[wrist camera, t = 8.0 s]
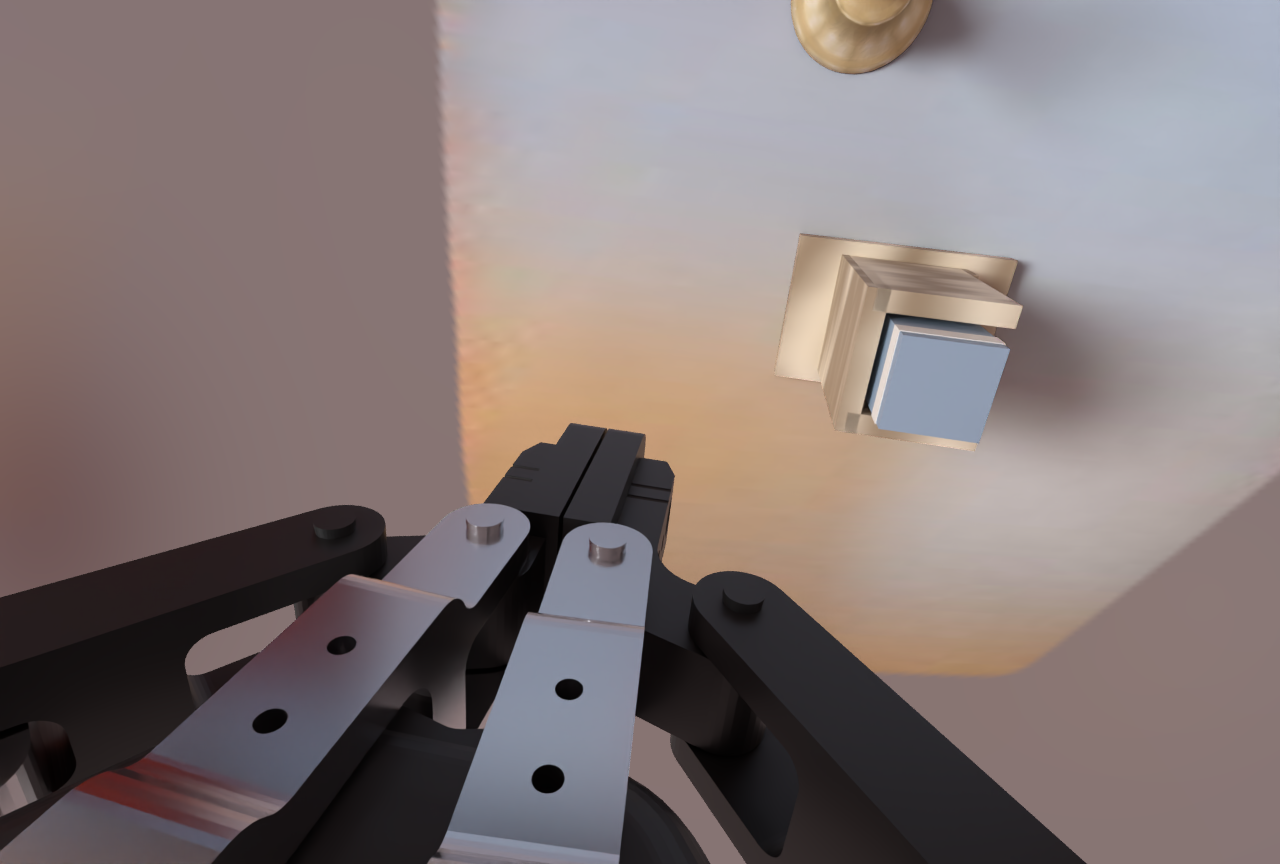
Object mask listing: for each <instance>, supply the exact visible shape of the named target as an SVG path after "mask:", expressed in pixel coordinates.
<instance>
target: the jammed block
mask: <svg viewBox="0 0 1280 864" xmlns="http://www.w3.org/2000/svg"><path fill="white" fill-rule="evenodd" d="M1009 352H1010V349H1009V348H1008V347H1007V346H1006V343H1004V342H1003V341H1002V340H1000V339H999V338H998V337H994V336H993V335H992V334H990V333H989V332H988V331H987V330H985V329H984V328H983V327H982V326H980V325H979V324H972V323H964V322H956V321H948V320H941V319H933V318H925V317H917V316H909V315H902V314H894V313H886V315H885V319H884V323H883V327H882V331H881V335H880V339H879V343H878V347H877V351H876V355H875V359H874V363H873V367H872V371H871V375H870V379H869V383H868V387H867V391H866V395H865V399H866V401H867V404H868V406H869V408H870V410H871V413H872V414H871V416H872V418H873V421H874V423H875V424H877V426H878V429H883V430H890V431H897V432H904V433H911V434H917V435H924V436H931V437H938V438H945V439H952V440H958V441H965V442H972V443H979V441H980V438H981V435H982V432H983V429H984V426H985V423H986V420H987V417H988V414H989V411H990V408H991V405H992V402H993V399H994V397H995V394H996V391H997V388H998V385H999V382H1000V379H1001V376H1002V373H1003V370H1004V367H1005V364H1006V361H1007V358H1008V355H1009Z"/></svg>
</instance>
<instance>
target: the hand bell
mask: <svg viewBox="0 0 1280 864" xmlns="http://www.w3.org/2000/svg"><path fill="white" fill-rule="evenodd" d="M932 2H933V0H791V14H792V20H793V25H794V28H795V32H796V35H797V37H798V39H799V41H800V43H801V44H802V46H803V48H804V49H805V50H806V52H807V53H808V54H809V56H810V57H812V58H813V59H814V60H815V61H816V62H818V63H819V64H820V65H822V66H824V67H826V68H828V69H830V70H833V71H836V72H840V73H849V74H857V73H864V72H869V71H873V70H876V69H878V68H880V67H882V66H884V65H886V64H888V63H890V62H891V61H892V60H894V59H895V58H897V57H898V56H899V55H900V54H902V53H903V52H904V51H905V50H906V49H907V48H908V47H909V46H910V45H911V43H912V42H913V41H914V40H915V38H916V37H917V36H918V34H919V33H920V31H921V29H922V28H923V26H924V24H925V22H926V19H927V17H928V15H929V12H930V9H931V5H932Z"/></svg>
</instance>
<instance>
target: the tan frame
mask: <svg viewBox="0 0 1280 864" xmlns="http://www.w3.org/2000/svg"><path fill="white" fill-rule="evenodd" d="M1017 263H1018V261H1017V260H1014V259H1012V258H1005V257H997V256H988V255H980V254H971V253H963V252H954V251H946V250H937V249H929V248H920V247H912V246H903V245H895V244H886V243H878V242H869V241H861V240H852V239H844V238H835V237H827V236H818V235H810V234H801V233H800V236H799V242H798V247H797V252H796V258H795V263H794V269H793V274H792V279H791V285H790V290H789V295H788V301H787V306H786V311H785V317H784V322H783V327H782V333H781V338H780V343H779V349H778V354H777V359H776V365H775V370H774V372H775V376H781V377H788V378H795V379H802V380H809V381H817V382H821V385H822V388H823V392H824V395H825V399H826V402H827V406H828V409H829V413H830V417H831V420H832V424H833V427H834V431H841V432H847V433H854V434H861V435H868V436H875V437H881V438H888V439H895V440H902V441H908V442H915V443H922V444H929V445H936V446H942V447H949V448H956V449H963V450H970V451H975V449H976V446H977V443H972V442H965V441H958V440H952V439H945V438H938V437H931V436H924V435H917V434H911V433H904V432H897V431H890V430H883V429H878V426H877V424H875V423H874V421H873V418H872V416H871V414H872V413H871V410H870V408H869V406H868V404H867V401H866V399H865V395H866V391H867V387H868V383H869V379H870V375H871V371H872V367H873V363H874V359H875V355H876V351H877V347H878V343H879V339H880V335H881V331H882V327H883V323H884V319H885V315H886V313H894V314H902V315H909V316H917V317H925V318H933V319H941V320H948V321H956V322H964V323H972V324H979V325H980V326H982V327H983V328H984V329H985V330H987V331H988V332H989V333H990V334H992V335H993V336H994V334H995V331H996V328H997V327H1003V328H1011V329H1016V326H1017V323H1018V320H1019V317H1020V314H1021V311H1022V308H1023V306H1022V305H1020V304H1019V303H1017V302H1015V301H1014V300H1012V299H1010V298H1009V297H1007V294H1008V291H1009V288H1010V285H1011V281H1012V278H1013V275H1014V272H1015V269H1016V266H1017Z"/></svg>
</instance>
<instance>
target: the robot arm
mask: <svg viewBox="0 0 1280 864" xmlns="http://www.w3.org/2000/svg"><path fill="white" fill-rule="evenodd" d="M645 440H646V437H645V434H641V433H634V432H628V431H621V430H614V429H608V431H607V428H600V427H594V426H587V425H581V424H574V423H570V424H569V426H568V427H567V429H566V430H565V432H564V433H563V435H562V436H561V438H560V439H559V441H558V442H557V444H556V445H555V444H548V443H542V442H541V443H539V444H537V445H535V446H533V447H531V448H529V449H527V450H525V451H523V452H522V453H521V454H520V456H519V457H518V458H517V460H516V461H515V462H514V464H513V467H511V468H510V469H509V470H508V472H507V473H506V474H505V477H503V478H502V480H501V481H500V482H499V483H498V485H497V486H496V487H495V489H494V490H493V491H492V493H491V494H490V495H489V497H488V498H487V499H486V501H485V502H484V503H483V504H474V505H469V506H465V507H462V508H459V509H457V510H454V511H452V512H451V513H449V514H448V515H446V516H445V517H444V518H443V519H442V520H441V521H440V522H439V523H438V524H437V525H436V526H435V527H434V528H433V529H432V530H431V531H430V532H429V533H428V534H427V535H425V536H395V537H386V525H385V521H384V518H383V517H382V515H380V514H379V513H378V512H376V511H374V510H372V509H369V508H366V507H362V506H354V505H339V506H331V507H325V508H321V509H317V510H313V511H309V512H306V513H302V514H299V515H295V516H292V517H288V518H284V519H281V520H277V521H274V522H270V523H267V524H263V525H259V526H256V527H252V528H248V529H245V530H242V531H238V532H234V533H230V534H227V535H224V536H220V537H216V538H213V539H209V540H205V541H202V542H198V543H195V544H191V545H188V546H184V547H180V548H177V549H173V550H169V551H166V552H162V553H159V554H155V555H151V556H148V557H144V558H141V559H137V560H134V561H130V562H126V563H123V564H119V565H116V566H112V567H108V568H105V569H101V570H98V571H94V572H91V573H87V574H83V575H80V576H76V577H73V578H69V579H66V580H62V581H58V582H55V583H51V584H47V585H44V586H40V587H37V588H33V589H30V590H26V591H22V592H19V593H16V594H12V595H8V596H4V597H1V598H0V864H710V863H709V861H708V859H707V857H706V855H705V854H704V852H703V850H702V849H701V847H700V845H699V844H698V842H697V841H696V839H695V838H694V836H693V835H692V834H691V832H690V831H689V830H688V828H687V827H686V826H685V824H684V823H683V822H682V821H681V819H680V818H679V817H678V816H677V815H676V814H675V813H674V812H673V811H672V810H671V809H670V808H669V807H668V806H667V804H666V803H664V801H663V800H661V799H660V798H659V797H658V796H656V795H655V794H654V793H653V792H651V791H650V790H649V789H648V788H646V787H645V786H643V785H642V784H640V783H638V782H637V781H635V780H633V779H632V778H630V777H629V776H628V775H629V765H630V757H631V748H632V738H633V729H634V720H635V716H637V717H639V718H641V719H643V720H645V721H647V722H649V723H651V724H653V725H655V726H657V727H659V728H661V729H662V730H664V731H666V732H668V733H670V734H671V737H670V743H671V749H672V752H673V754H674V756H675V758H676V760H677V761H678V763H679V764H680V766H681V767H682V769H683V770H684V772H685V773H686V775H687V776H688V778H689V779H690V781H691V782H692V784H693V785H694V786H695V788H696V789H697V791H698V792H699V794H700V795H701V797H702V798H703V800H704V801H705V803H706V804H707V806H708V807H709V809H710V810H711V812H712V813H713V814H714V816H715V818H716V819H717V820H718V822H719V823H720V825H721V827H722V828H723V829H724V831H725V832H726V834H727V835H728V837H729V838H730V840H731V841H732V843H733V844H734V846H735V847H736V849H737V850H738V852H739V853H740V855H741V856H742V857H743V859H744V861H745V862H746V863H747V864H1086V863H1085V862H1084V861H1083V860H1082V859H1081V858H1080V857H1079V856H1077V855H1076V854H1075V853H1074V852H1073V851H1072V850H1071V849H1069V848H1068V847H1067V846H1066V845H1065V844H1064V843H1063V842H1062V841H1061V840H1060V839H1058V838H1057V837H1056V836H1055V835H1054V834H1053V833H1052V832H1051V831H1049V830H1048V829H1047V828H1046V827H1045V826H1044V825H1043V824H1042V823H1041V822H1040V821H1038V820H1037V819H1036V818H1035V817H1034V816H1033V815H1032V814H1030V813H1029V812H1028V811H1027V810H1026V809H1025V808H1024V807H1023V806H1022V805H1021V804H1019V803H1018V802H1017V801H1016V800H1015V799H1014V798H1013V797H1011V795H1009V794H1008V793H1007V792H1006V791H1005V790H1004V789H1003V788H1002V787H1000V786H999V785H998V784H997V783H996V782H995V781H994V780H993V779H992V778H990V777H989V776H988V775H987V774H986V773H985V772H984V771H983V770H981V769H980V768H979V767H978V766H977V765H976V764H975V763H973V761H971V760H970V759H969V758H968V757H967V756H966V755H965V754H964V753H962V752H961V751H960V750H959V749H958V748H957V747H956V746H955V745H953V744H952V743H951V742H950V741H949V740H948V739H947V738H946V737H945V736H944V735H942V734H941V733H940V732H939V731H938V730H937V729H936V728H935V727H934V726H932V725H931V724H930V723H929V722H928V721H927V720H926V719H925V718H923V717H922V716H921V715H920V714H919V713H918V712H917V711H916V710H915V709H913V708H912V707H911V706H910V705H909V704H908V703H907V702H905V701H904V700H903V699H902V698H901V697H900V696H899V695H898V694H897V693H896V692H894V691H893V690H892V689H891V688H890V687H889V686H888V685H887V684H885V683H884V682H883V681H882V680H881V679H880V678H879V677H878V676H877V675H875V674H874V673H873V672H872V671H871V670H870V669H869V668H868V667H867V666H865V665H864V664H863V663H862V662H861V661H860V660H859V659H858V658H856V657H855V656H854V655H853V654H852V653H851V652H850V651H849V650H848V649H846V648H845V647H844V646H843V645H842V644H841V643H840V642H839V641H838V640H836V639H835V638H834V637H833V636H832V635H831V634H830V633H829V632H827V631H826V630H825V629H824V628H823V627H822V626H821V625H820V624H819V623H817V622H816V621H815V620H814V619H813V618H812V617H811V616H810V615H809V614H807V613H806V612H805V611H804V610H803V609H802V608H801V607H800V606H798V605H797V604H796V603H795V602H794V601H793V600H792V599H791V598H790V597H788V596H787V595H786V594H785V593H784V592H783V591H782V590H781V589H779V588H778V587H777V586H776V585H774V584H772V583H771V582H769V581H767V580H765V579H763V578H761V577H758V576H755V575H752V574H748V573H744V572H737V571H724V572H717V573H713V574H710V575H707V576H706V577H704V578H702V579H701V580H700V581H699V582H698V583H697V584H696V585H694V584H692V583H689V582H687V581H685V580H683V579H681V578H679V577H677V576H676V575H674V574H673V573H672V572H670V571H669V570H668V569H667V568H666V567H665V566H664V565H663V563H662V557H663V553H664V549H665V544H666V538H667V531H668V523H669V515H670V508H671V500H672V493H673V485H674V477H675V475H674V473H673V472H672V470H671V468H670V466H669V464H668V463H667V462H665V461H659V460H652V459H646V458H644V452H645ZM292 604H294V608H295V615H296V620H295V621H294V622H293V623H292V624H290V625H289V626H288V627H287V628H286V629H285V630H284V631H283V632H282V633H280V634H279V635H278V636H277V637H276V638H275V639H274V640H273V641H272V642H271V643H269V644H268V645H267V646H266V647H265V648H264V649H263V650H262V651H261V652H259V653H256V654H253V655H251V656H248V657H246V658H243V659H241V660H238V661H236V662H233V663H231V664H228V665H225V666H223V667H220V668H218V669H215V670H213V671H210V672H207V673H205V674H201V675H187V674H186V669H185V658H186V655H187V653H188V652H189V650H190V649H191V648H192V646H193V645H194V644H195V643H197V642H198V641H199V640H200V639H201V638H203V637H205V636H207V635H209V634H211V633H214V632H216V631H219V630H222V629H225V628H228V627H230V626H233V625H236V624H238V623H241V622H244V621H247V620H250V619H252V618H255V617H258V616H260V615H264V614H267V613H269V612H272V611H275V610H277V609H280V608H283V607H286V606H289V605H292Z"/></svg>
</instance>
